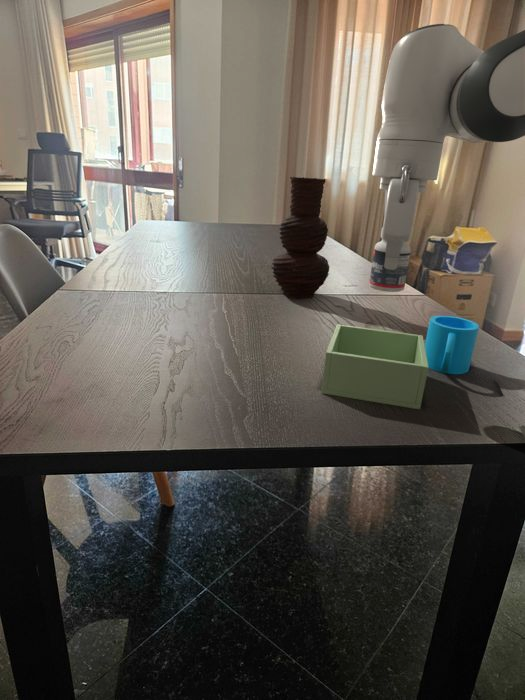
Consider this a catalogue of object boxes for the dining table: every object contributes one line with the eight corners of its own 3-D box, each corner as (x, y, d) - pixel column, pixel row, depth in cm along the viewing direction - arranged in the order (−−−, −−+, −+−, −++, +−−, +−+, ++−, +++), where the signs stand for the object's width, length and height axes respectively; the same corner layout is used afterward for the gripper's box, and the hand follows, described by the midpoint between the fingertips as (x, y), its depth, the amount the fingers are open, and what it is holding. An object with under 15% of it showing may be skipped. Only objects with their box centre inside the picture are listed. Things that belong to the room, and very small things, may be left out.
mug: (423, 353, 91) (431, 313, 88) (468, 361, 88) (478, 320, 85) (417, 376, 80) (426, 330, 77) (468, 386, 77) (479, 340, 74)
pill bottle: (364, 283, 73) (372, 225, 70) (396, 284, 74) (405, 226, 71) (375, 292, 69) (384, 230, 65) (409, 293, 69) (420, 231, 66)
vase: (275, 285, 136) (282, 175, 125) (328, 291, 133) (340, 179, 122) (264, 298, 122) (272, 176, 111) (323, 305, 119) (337, 180, 108)
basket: (415, 371, 82) (422, 335, 79) (420, 409, 69) (428, 367, 66) (332, 359, 85) (336, 324, 83) (321, 393, 72) (326, 352, 69)
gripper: (435, 165, 55) (415, 281, 60) (425, 167, 73) (410, 256, 78) (380, 162, 56) (365, 275, 61) (384, 165, 75) (371, 252, 80)
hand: (390, 264), depth 70 cm, fingers closed on pill bottle, 5 cm apart
